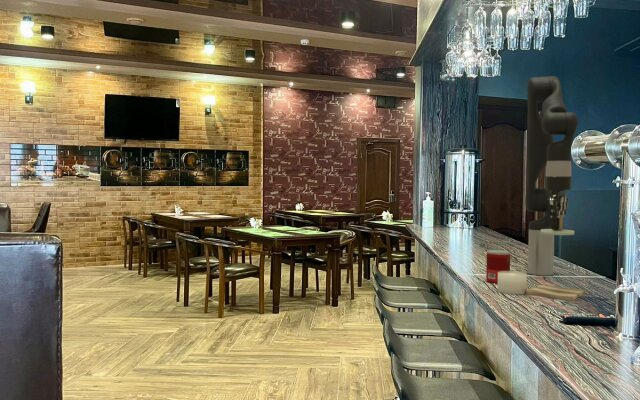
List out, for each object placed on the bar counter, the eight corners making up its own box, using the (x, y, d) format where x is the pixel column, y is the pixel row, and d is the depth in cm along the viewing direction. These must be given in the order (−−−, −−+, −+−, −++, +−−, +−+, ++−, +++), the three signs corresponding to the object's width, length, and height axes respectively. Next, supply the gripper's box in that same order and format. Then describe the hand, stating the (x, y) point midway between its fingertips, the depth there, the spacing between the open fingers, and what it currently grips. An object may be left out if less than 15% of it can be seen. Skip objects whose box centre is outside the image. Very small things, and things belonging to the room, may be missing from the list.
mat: (540, 287, 187) (540, 284, 187) (585, 293, 178) (585, 290, 178) (526, 294, 177) (526, 291, 176) (572, 300, 168) (572, 297, 168)
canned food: (511, 284, 192) (511, 253, 192) (487, 283, 194) (487, 252, 193) (508, 280, 200) (508, 250, 199) (485, 279, 201) (485, 249, 201)
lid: (546, 231, 184) (546, 213, 183) (578, 233, 177) (578, 214, 177) (536, 233, 176) (536, 214, 176) (569, 235, 170) (569, 216, 169)
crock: (503, 287, 187) (504, 270, 187) (530, 291, 181) (531, 273, 181) (493, 291, 180) (493, 273, 180) (520, 295, 174) (521, 276, 174)
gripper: (553, 175, 184) (552, 227, 184) (538, 175, 173) (537, 230, 174) (577, 175, 179) (575, 228, 180) (564, 175, 168) (562, 231, 169)
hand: (557, 229), depth 177 cm, fingers closed on lid, 3 cm apart
